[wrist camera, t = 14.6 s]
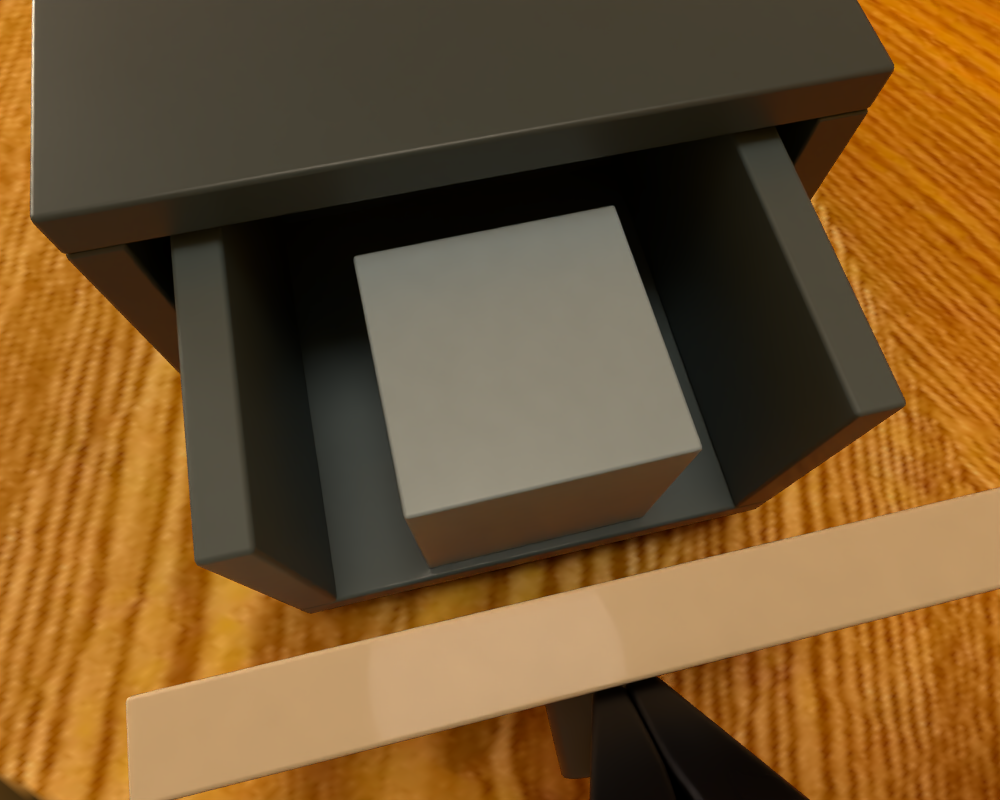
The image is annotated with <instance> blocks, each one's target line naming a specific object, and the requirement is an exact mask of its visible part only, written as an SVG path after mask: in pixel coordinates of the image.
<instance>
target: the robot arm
mask: <svg viewBox="0 0 1000 800" xmlns="http://www.w3.org/2000/svg"><path fill="white" fill-rule="evenodd" d="M590 800H809V799H808V798H807V797H806V796H804V795H803V794H802V793H801V792H799V791H798V790H797V789H796V788H795V787H793V786H792V785H791V784H790V783H788V782H787V781H786V780H785V779H783V778H782V777H781V776H780V775H778V774H777V773H776V772H775V771H774V770H772V769H771V768H770V767H769V766H767V765H766V764H765V763H764V762H762V761H761V760H760V759H759V758H757V757H756V756H755V755H754V754H752V753H751V752H750V751H749V750H748V749H746V748H745V747H744V746H743V745H741V744H740V743H739V742H738V741H736V740H735V739H734V738H733V737H731V736H730V735H729V734H728V733H726V732H725V731H724V730H723V729H722V728H720V727H719V726H718V725H717V724H715V723H714V722H713V721H712V720H710V719H709V718H708V717H707V716H705V715H704V714H703V713H702V712H701V711H699V710H698V709H697V708H696V707H694V706H693V705H692V704H691V703H689V702H688V701H687V700H686V699H684V698H683V697H682V696H681V695H679V694H678V693H677V692H676V691H675V690H673V689H672V688H671V687H670V686H668V685H667V684H666V683H665V682H663V681H662V680H661V679H660V678H658V677H652V678H648V679H644V680H640V681H636V682H632V683H628V684H626V685H625V687H624V686H622V685H621V686H617V687H613V688H609V689H605V690H601V691H597V692H594V693H593V695H592V718H591V760H590Z"/></svg>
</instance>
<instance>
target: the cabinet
mask: <svg viewBox="0 0 1000 800" xmlns="http://www.w3.org/2000/svg"><path fill="white" fill-rule="evenodd" d="M893 71H894V64H893V62H892V60H891V58H890V57H889V55H888V53H887V52H886V50H885V48H884V46H883V45H882V43H881V41H880V39H879V38H878V36H877V34H876V32H875V31H874V29H873V27H872V26H871V24H870V22H869V20H868V19H867V17H866V15H865V13H864V12H863V10H862V8H861V6H860V5H859V3H858V1H857V0H32V74H31V180H30V217H31V220H32V222H33V223H34V224H35V225H36V227H37V228H38V229H39V230H40V231H41V232H42V233H43V234H44V235H45V236H46V237H47V238H48V239H49V240H50V241H51V242H52V243H53V244H54V245H55V246H56V247H57V248H58V249H59V250H60V251H61V252H62V253H65V254H66V256H67V258H68V260H69V261H70V262H71V263H72V264H73V265H74V266H75V267H76V268H77V269H78V270H79V271H80V272H81V273H82V274H83V275H84V276H85V277H86V278H87V279H88V280H89V281H90V282H91V283H92V284H93V285H94V286H95V287H96V288H97V289H98V290H99V291H100V292H101V293H102V294H103V295H104V296H105V297H106V298H107V299H108V300H109V301H110V303H111V304H112V305H113V306H114V307H115V308H116V309H117V310H118V311H119V312H120V313H121V314H122V315H123V316H124V317H125V318H126V319H127V320H128V321H129V322H130V323H131V324H132V325H133V326H134V327H135V328H136V329H137V330H138V331H139V332H140V333H141V334H142V335H143V336H144V337H145V338H146V339H147V340H148V341H149V342H150V343H151V344H152V345H153V346H154V348H155V349H156V350H157V351H158V352H159V353H160V354H161V355H162V356H163V357H164V358H165V359H166V360H167V361H168V362H169V363H170V364H171V365H172V366H173V367H174V368H175V369H176V370H177V371H178V372H179V373H180V360H179V347H178V334H177V321H176V308H175V294H174V281H173V268H172V255H171V242H170V236H171V235H176V234H182V233H187V232H193V231H199V230H204V229H210V228H215V227H221V226H226V225H232V224H237V223H243V222H248V221H254V220H259V219H265V218H270V217H276V216H281V215H287V214H292V213H298V212H303V211H309V210H314V209H320V208H325V207H331V206H336V205H342V204H347V203H353V202H358V201H364V200H369V199H375V198H380V197H386V196H391V195H397V194H402V193H408V192H413V191H419V190H424V189H430V188H436V187H441V186H447V185H452V184H458V183H463V182H469V181H474V180H480V179H485V178H491V177H496V176H502V175H507V174H513V173H518V172H524V171H529V170H535V169H540V168H546V167H551V166H557V165H562V164H568V163H573V162H579V161H584V160H590V159H595V158H601V157H606V156H612V155H617V154H623V153H628V152H634V151H639V150H645V149H650V148H656V147H661V146H667V145H672V144H678V143H684V142H689V141H695V140H700V139H706V138H711V137H717V136H722V135H728V134H733V133H739V132H744V131H750V130H755V129H761V128H766V127H772V126H775V128H776V130H777V132H778V134H779V136H780V138H781V140H782V142H783V144H784V147H785V149H786V151H787V153H788V155H789V157H790V159H791V161H792V163H793V165H794V168H795V170H796V172H797V174H798V176H799V178H800V180H801V182H802V184H803V187H804V189H805V191H806V193H807V195H808V197H809V199H810V200H811V199H812V197H813V195H814V194H815V192H816V191H817V189H818V188H819V186H820V185H821V183H822V182H823V180H824V179H825V177H826V176H827V174H828V172H829V171H830V169H831V168H832V166H833V165H834V163H835V162H836V160H837V159H838V157H839V156H840V154H841V153H842V151H843V149H844V148H845V146H846V145H847V143H848V142H849V140H850V139H851V137H852V136H853V134H854V133H855V131H856V130H857V128H858V126H859V125H860V123H861V122H862V120H863V119H864V117H865V116H866V114H867V112H868V111H867V108H869V107H870V106H871V105H872V103H873V102H874V100H875V99H876V97H877V96H878V94H879V92H880V91H881V89H882V88H883V86H884V85H885V83H886V82H887V80H888V79H889V77H890V76H891V74H892V72H893Z"/></svg>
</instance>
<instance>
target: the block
mask: <svg viewBox="0 0 1000 800" xmlns="http://www.w3.org/2000/svg"><path fill="white" fill-rule="evenodd" d="M353 261H354V266H355V271H356V276H357V282H358V287H359V292H360V297H361V302H362V307H363V312H364V317H365V322H366V327H367V333H368V338H369V343H370V348H371V353H372V358H373V363H374V368H375V373H376V379H377V384H378V389H379V394H380V399H381V404H382V409H383V414H384V419H385V424H386V430H387V435H388V440H389V445H390V450H391V455H392V460H393V465H394V470H395V476H396V481H397V486H398V491H399V496H400V501H401V506H402V511H403V516H404V518H405V520H406V522H407V524H408V526H409V528H410V530H411V532H412V534H413V536H414V538H415V540H416V542H417V544H418V546H419V548H420V550H421V553H422V555H423V557H424V559H425V561H426V563H427V565H428V566H429V568H435V567H439V566H443V565H447V564H451V563H455V562H459V561H463V560H468V559H472V558H476V557H480V556H484V555H488V554H492V553H496V552H501V551H505V550H509V549H513V548H517V547H521V546H525V545H529V544H534V543H538V542H542V541H546V540H550V539H554V538H558V537H562V536H567V535H571V534H575V533H579V532H583V531H587V530H591V529H595V528H600V527H604V526H608V525H612V524H616V523H620V522H624V521H628V520H633V519H637V518H641V517H643V516H644V515H645V514H646V513H647V512H648V510H649V509H650V508H651V507H652V506H653V505H654V504H655V502H656V501H657V500H658V499H659V498H660V497H661V496H662V494H663V493H664V492H665V491H666V490H667V489H668V488H669V486H670V485H671V484H672V483H673V482H674V481H675V480H676V478H677V477H678V476H679V475H680V474H681V473H682V472H683V470H684V469H685V468H686V467H687V466H688V465H689V464H690V462H691V461H692V460H693V459H694V458H695V457H696V456H697V454H698V453H699V452H700V451H701V450H702V445H701V442H700V439H699V436H698V434H697V431H696V428H695V425H694V423H693V420H692V417H691V414H690V412H689V409H688V406H687V403H686V401H685V398H684V395H683V393H682V390H681V387H680V384H679V382H678V379H677V376H676V373H675V371H674V368H673V365H672V362H671V360H670V357H669V354H668V351H667V349H666V346H665V343H664V340H663V338H662V335H661V332H660V329H659V327H658V324H657V321H656V318H655V316H654V313H653V310H652V307H651V305H650V302H649V299H648V296H647V294H646V291H645V288H644V285H643V283H642V280H641V277H640V275H639V272H638V269H637V266H636V264H635V261H634V258H633V255H632V253H631V250H630V247H629V244H628V242H627V239H626V236H625V233H624V231H623V228H622V225H621V222H620V220H619V217H618V214H617V211H616V209H615V207H614V206H607V207H602V208H597V209H591V210H586V211H581V212H576V213H571V214H566V215H561V216H556V217H551V218H546V219H541V220H535V221H530V222H525V223H520V224H515V225H510V226H505V227H500V228H495V229H490V230H485V231H479V232H474V233H469V234H464V235H459V236H454V237H449V238H444V239H439V240H434V241H429V242H424V243H418V244H413V245H408V246H403V247H398V248H393V249H388V250H383V251H378V252H373V253H368V254H362V255H357V256H355V257H354V260H353Z"/></svg>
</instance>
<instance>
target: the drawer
mask: <svg viewBox="0 0 1000 800" xmlns="http://www.w3.org/2000/svg"><path fill="white" fill-rule="evenodd" d="M607 206H614V207H615V209H616V211H617V214H618V217H619V220H620V222H621V225H622V228H623V231H624V233H625V236H626V239H627V242H628V244H629V247H630V250H631V253H632V255H633V258H634V261H635V264H636V266H637V269H638V272H639V275H640V277H641V280H642V283H643V285H644V288H645V291H646V294H647V296H648V299H649V302H650V305H651V307H652V310H653V313H654V316H655V318H656V321H657V324H658V327H659V329H660V332H661V335H662V338H663V340H664V343H665V346H666V349H667V351H668V354H669V357H670V360H671V362H672V365H673V368H674V371H675V373H676V376H677V379H678V382H679V384H680V387H681V390H682V393H683V395H684V398H685V401H686V403H687V406H688V409H689V412H690V414H691V417H692V420H693V423H694V425H695V428H696V431H697V434H698V436H699V439H700V442H701V445H702V450H701V451H700V452H699V453H698V454H697V456H696V457H695V458H694V459H693V460H692V461H691V462H690V464H689V465H688V466H687V467H686V468H685V469H684V470H683V472H682V473H681V474H680V475H679V476H678V477H677V478H676V480H675V481H674V482H673V483H672V484H671V485H670V486H669V488H668V489H667V490H666V491H665V492H664V493H663V494H662V496H661V497H660V498H659V499H658V500H657V501H656V502H655V504H654V505H653V506H652V507H651V508H650V509H649V510H648V512H647V513H646V514H645V515H644V516H643V517H641V518H637V519H633V520H628V521H624V522H620V523H616V524H612V525H608V526H604V527H600V528H595V529H591V530H587V531H583V532H579V533H575V534H571V535H567V536H562V537H558V538H554V539H550V540H546V541H542V542H538V543H534V544H529V545H525V546H521V547H517V548H513V549H509V550H505V551H501V552H496V553H492V554H488V555H484V556H480V557H476V558H472V559H468V560H463V561H459V562H455V563H451V564H447V565H443V566H439V567H435V568H429V566H428V565H427V563H426V561H425V559H424V557H423V555H422V553H421V550H420V548H419V546H418V544H417V542H416V540H415V538H414V536H413V534H412V532H411V530H410V528H409V526H408V524H407V522H406V520H405V518H404V516H403V511H402V506H401V501H400V496H399V491H398V486H397V481H396V476H395V470H394V465H393V460H392V455H391V450H390V445H389V440H388V435H387V430H386V424H385V419H384V414H383V409H382V404H381V399H380V394H379V389H378V384H377V379H376V373H375V368H374V363H373V358H372V353H371V348H370V343H369V338H368V333H367V327H366V322H365V317H364V312H363V307H362V302H361V297H360V292H359V287H358V282H357V276H356V271H355V266H354V261H353V260H354V257H355V256H357V255H362V254H368V253H373V252H378V251H383V250H388V249H393V248H398V247H403V246H408V245H413V244H418V243H424V242H429V241H434V240H439V239H444V238H449V237H454V236H459V235H464V234H469V233H474V232H479V231H485V230H490V229H495V228H500V227H505V226H510V225H515V224H520V223H525V222H530V221H535V220H541V219H546V218H551V217H556V216H561V215H566V214H571V213H576V212H581V211H586V210H591V209H597V208H602V207H607ZM170 242H171V255H172V268H173V281H174V294H175V308H176V321H177V334H178V347H179V360H180V374H181V387H182V400H183V413H184V426H185V439H186V453H187V466H188V479H189V492H190V505H191V519H192V532H193V545H194V558H195V562H196V564H197V565H198V566H200V567H202V568H205V569H207V570H209V571H212V572H214V573H216V574H219V575H221V576H223V577H226V578H228V579H230V580H233V581H235V582H237V583H240V584H242V585H244V586H247V587H249V588H251V589H254V590H256V591H258V592H261V593H263V594H265V595H268V596H270V597H272V598H275V599H277V600H279V601H282V602H284V603H286V604H289V605H291V606H293V607H296V608H298V609H301V610H302V611H305V612H307V613H315V612H319V611H323V610H328V609H332V608H336V607H341V606H345V605H349V604H353V603H358V602H362V601H366V600H370V599H375V598H379V597H383V596H387V595H392V594H396V593H400V592H404V591H409V590H413V589H417V588H421V587H426V586H430V585H434V584H438V583H443V582H447V581H451V580H455V579H460V578H464V577H468V576H472V575H477V574H481V573H485V572H489V571H494V570H498V569H502V568H506V567H511V566H515V565H519V564H523V563H528V562H532V561H536V560H540V559H545V558H549V557H553V556H557V555H562V554H566V553H570V552H574V551H579V550H583V549H587V548H591V547H596V546H600V545H604V544H608V543H613V542H617V541H621V540H625V539H630V538H634V537H638V536H642V535H647V534H651V533H655V532H659V531H664V530H668V529H672V528H676V527H681V526H685V525H689V524H693V523H698V522H702V521H706V520H710V519H715V518H719V517H723V516H727V515H732V514H736V513H740V512H744V511H749V510H753V509H756V508H757V507H759V506H760V505H762V504H763V503H764V502H766V501H767V500H769V499H771V498H772V497H773V496H775V495H776V494H778V493H779V492H781V491H782V490H784V489H785V488H787V487H788V486H789V485H791V484H792V483H794V482H795V481H797V480H798V479H800V478H801V477H803V476H804V475H805V474H807V473H808V472H810V471H811V470H813V469H814V468H816V467H817V466H819V465H820V464H821V463H823V462H824V461H826V460H827V459H829V458H830V457H832V456H833V455H835V454H836V453H837V452H839V451H840V450H842V449H843V448H845V447H846V446H848V445H849V444H851V443H852V442H853V441H855V440H856V439H858V438H859V437H861V436H862V435H864V434H865V433H867V432H868V431H869V430H871V429H872V428H874V427H875V426H877V425H878V424H880V423H881V422H883V421H884V420H885V419H887V418H888V417H890V416H891V415H893V414H894V413H896V412H897V411H899V410H900V409H901V408H903V407H904V406H905V405H906V402H905V399H904V397H903V395H902V392H901V390H900V388H899V386H898V384H897V382H896V380H895V378H894V376H893V374H892V371H891V369H890V367H889V365H888V363H887V361H886V359H885V357H884V355H883V353H882V350H881V348H880V346H879V344H878V342H877V340H876V338H875V336H874V334H873V332H872V329H871V327H870V325H869V323H868V321H867V319H866V317H865V315H864V313H863V311H862V308H861V306H860V304H859V302H858V300H857V298H856V296H855V294H854V292H853V289H852V287H851V285H850V283H849V281H848V279H847V277H846V275H845V273H844V271H843V268H842V266H841V264H840V262H839V260H838V258H837V256H836V254H835V252H834V250H833V247H832V245H831V243H830V241H829V239H828V237H827V235H826V233H825V231H824V229H823V226H822V224H821V222H820V220H819V218H818V216H817V214H816V212H815V210H814V208H813V205H812V203H811V201H810V199H809V197H808V195H807V193H806V191H805V189H804V187H803V184H802V182H801V180H800V178H799V176H798V174H797V172H796V170H795V168H794V165H793V163H792V161H791V159H790V157H789V155H788V153H787V151H786V149H785V147H784V144H783V142H782V140H781V138H780V136H779V134H778V132H777V130H776V128H775V126H772V127H766V128H761V129H755V130H750V131H744V132H739V133H733V134H728V135H722V136H717V137H711V138H706V139H700V140H695V141H689V142H684V143H678V144H672V145H667V146H661V147H656V148H650V149H645V150H639V151H634V152H628V153H623V154H617V155H612V156H606V157H601V158H595V159H590V160H584V161H579V162H573V163H568V164H562V165H557V166H551V167H546V168H540V169H535V170H529V171H524V172H518V173H513V174H507V175H502V176H496V177H491V178H485V179H480V180H474V181H469V182H463V183H458V184H452V185H447V186H441V187H436V188H430V189H424V190H419V191H413V192H408V193H402V194H397V195H391V196H386V197H380V198H375V199H369V200H364V201H358V202H353V203H347V204H342V205H336V206H331V207H325V208H320V209H314V210H309V211H303V212H298V213H292V214H287V215H281V216H276V217H270V218H265V219H259V220H254V221H248V222H243V223H237V224H232V225H226V226H221V227H215V228H210V229H204V230H199V231H193V232H187V233H182V234H176V235H171V236H170ZM996 589H1000V487H999V488H995V489H990V490H986V491H982V492H978V493H974V494H970V495H965V496H961V497H957V498H953V499H949V500H945V501H940V502H936V503H932V504H928V505H924V506H920V507H916V508H911V509H907V510H903V511H899V512H895V513H891V514H886V515H882V516H878V517H874V518H870V519H866V520H861V521H857V522H853V523H849V524H845V525H841V526H837V527H832V528H828V529H824V530H820V531H816V532H812V533H807V534H803V535H799V536H795V537H791V538H787V539H782V540H778V541H774V542H770V543H766V544H762V545H758V546H753V547H749V548H745V549H741V550H737V551H733V552H728V553H724V554H720V555H716V556H712V557H708V558H703V559H699V560H695V561H691V562H687V563H683V564H679V565H674V566H670V567H666V568H662V569H658V570H654V571H649V572H645V573H641V574H637V575H633V576H629V577H624V578H620V579H616V580H612V581H608V582H604V583H600V584H595V585H591V586H587V587H583V588H579V589H575V590H570V591H566V592H562V593H558V594H554V595H550V596H545V597H541V598H537V599H533V600H529V601H525V602H521V603H516V604H512V605H508V606H504V607H500V608H496V609H491V610H487V611H483V612H479V613H475V614H471V615H466V616H462V617H458V618H454V619H450V620H446V621H442V622H437V623H433V624H429V625H425V626H421V627H417V628H412V629H408V630H404V631H400V632H396V633H392V634H387V635H383V636H379V637H375V638H371V639H367V640H363V641H358V642H354V643H350V644H346V645H342V646H338V647H333V648H329V649H325V650H321V651H317V652H313V653H308V654H304V655H300V656H296V657H292V658H288V659H284V660H279V661H275V662H271V663H267V664H263V665H259V666H254V667H250V668H246V669H242V670H238V671H234V672H229V673H225V674H221V675H217V676H213V677H209V678H204V679H200V680H196V681H192V682H188V683H184V684H180V685H175V686H171V687H167V688H163V689H159V690H155V691H150V692H146V693H142V694H138V695H134V696H131V697H129V698H128V699H127V701H126V715H127V741H128V767H129V793H130V800H174V799H178V798H182V797H186V796H190V795H194V794H198V793H202V792H205V791H209V790H213V789H217V788H221V787H225V786H229V785H233V784H237V783H241V782H245V781H249V780H252V779H256V778H260V777H264V776H268V775H272V774H276V773H280V772H284V771H288V770H292V769H296V768H299V767H303V766H307V765H311V764H315V763H319V762H323V761H327V760H331V759H335V758H339V757H343V756H346V755H350V754H354V753H358V752H362V751H366V750H370V749H374V748H378V747H382V746H386V745H389V744H393V743H397V742H401V741H405V740H409V739H413V738H417V737H421V736H425V735H429V734H433V733H436V732H440V731H444V730H448V729H452V728H456V727H460V726H464V725H468V724H472V723H476V722H480V721H483V720H487V719H491V718H495V717H499V716H503V715H507V714H511V713H515V712H519V711H523V710H527V709H530V708H534V707H538V706H542V705H545V706H546V710H547V714H548V719H549V723H550V727H551V731H552V736H553V740H554V744H555V748H556V753H557V757H558V761H559V765H560V769H561V774H562V775H563V777H564V778H569V779H579V778H587V777H590V760H591V718H592V695H593V693H594V692H597V691H601V690H605V689H609V688H613V687H617V686H621V685H622V686H624V687H625V685H626V684H628V683H632V682H636V681H640V680H644V679H648V678H652V677H656V676H660V675H664V674H668V673H671V672H675V671H679V670H683V669H687V668H691V667H695V666H699V665H703V664H707V663H711V662H714V661H718V660H722V659H726V658H730V657H734V656H738V655H742V654H746V653H750V652H754V651H758V650H761V649H765V648H769V647H773V646H777V645H781V644H785V643H789V642H793V641H797V640H801V639H805V638H808V637H812V636H816V635H820V634H824V633H828V632H832V631H836V630H840V629H844V628H848V627H852V626H855V625H859V624H863V623H867V622H871V621H875V620H879V619H883V618H887V617H891V616H895V615H899V614H902V613H906V612H910V611H914V610H918V609H922V608H926V607H930V606H934V605H938V604H942V603H946V602H949V601H953V600H957V599H961V598H965V597H969V596H973V595H977V594H981V593H985V592H989V591H993V590H996Z"/></svg>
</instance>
